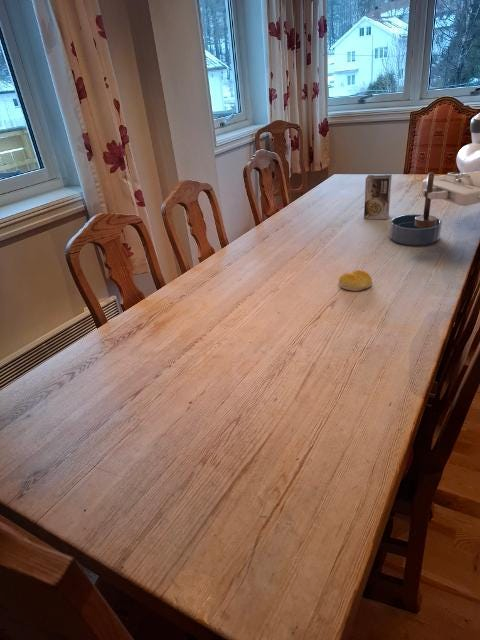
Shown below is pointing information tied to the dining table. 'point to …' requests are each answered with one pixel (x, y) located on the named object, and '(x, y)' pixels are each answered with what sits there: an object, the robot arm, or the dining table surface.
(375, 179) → the coffee box
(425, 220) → the wooden peg stand
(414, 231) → the bowl
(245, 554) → the dining table surface
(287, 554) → the dining table surface
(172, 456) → the dining table surface
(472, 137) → the robot arm
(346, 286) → the bread roll
